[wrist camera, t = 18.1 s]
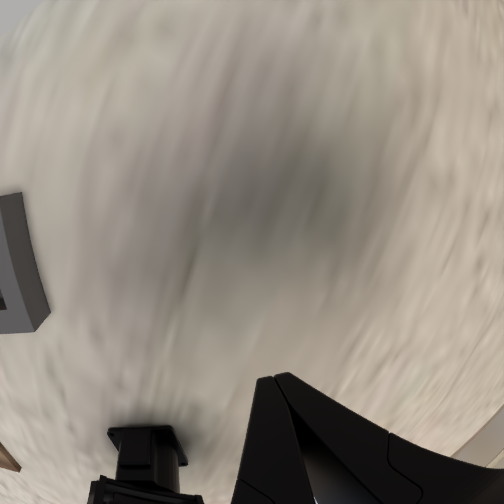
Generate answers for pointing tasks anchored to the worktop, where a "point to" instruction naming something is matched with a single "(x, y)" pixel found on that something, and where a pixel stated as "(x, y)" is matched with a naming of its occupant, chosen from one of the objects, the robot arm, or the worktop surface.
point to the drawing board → (8, 460)
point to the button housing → (18, 272)
